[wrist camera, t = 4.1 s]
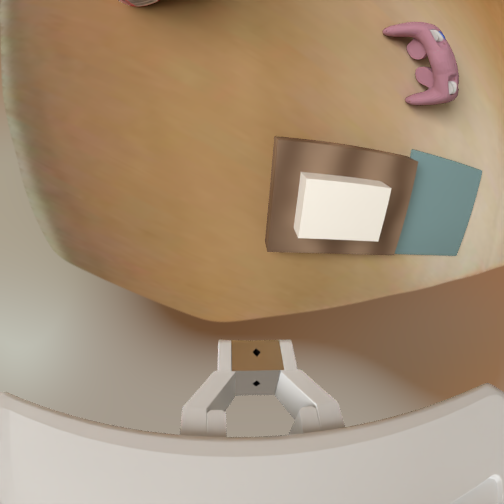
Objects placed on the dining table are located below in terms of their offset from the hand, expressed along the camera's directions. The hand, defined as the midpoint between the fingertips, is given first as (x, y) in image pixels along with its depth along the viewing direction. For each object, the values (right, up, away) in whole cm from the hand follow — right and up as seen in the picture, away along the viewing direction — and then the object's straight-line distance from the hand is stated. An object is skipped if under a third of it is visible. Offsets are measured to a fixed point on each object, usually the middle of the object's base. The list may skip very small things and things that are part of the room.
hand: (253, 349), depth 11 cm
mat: (+25, +10, +20) cm, 34 cm away
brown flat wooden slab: (+10, +10, +19) cm, 24 cm away
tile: (+9, +9, +17) cm, 21 cm away
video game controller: (+18, +25, +11) cm, 33 cm away
